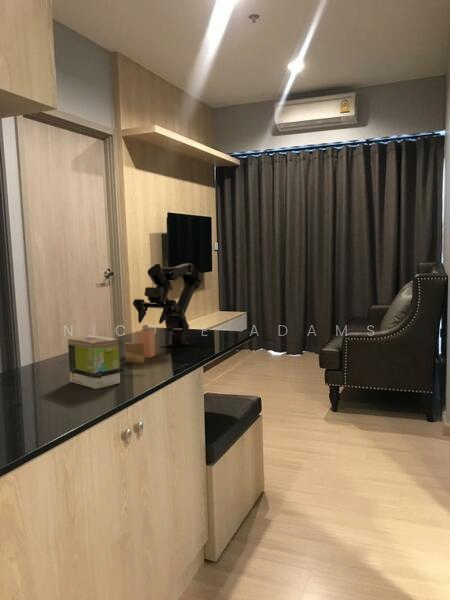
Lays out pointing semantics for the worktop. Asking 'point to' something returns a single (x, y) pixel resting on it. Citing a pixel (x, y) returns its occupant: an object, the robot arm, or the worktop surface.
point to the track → (134, 352)
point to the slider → (147, 341)
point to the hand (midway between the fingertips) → (149, 322)
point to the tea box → (94, 361)
